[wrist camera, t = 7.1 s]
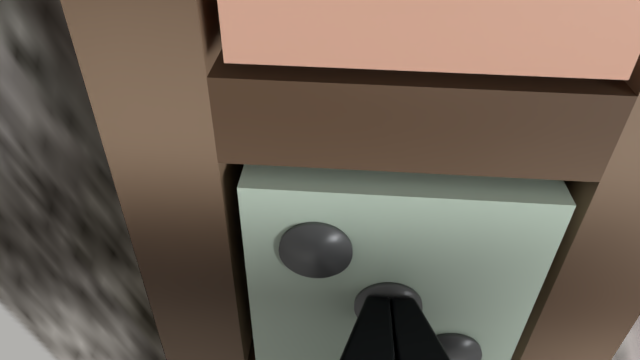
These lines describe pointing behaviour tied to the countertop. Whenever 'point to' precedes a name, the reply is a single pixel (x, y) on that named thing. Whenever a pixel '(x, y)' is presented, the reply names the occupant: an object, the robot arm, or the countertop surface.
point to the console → (345, 164)
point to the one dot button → (437, 35)
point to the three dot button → (395, 254)
